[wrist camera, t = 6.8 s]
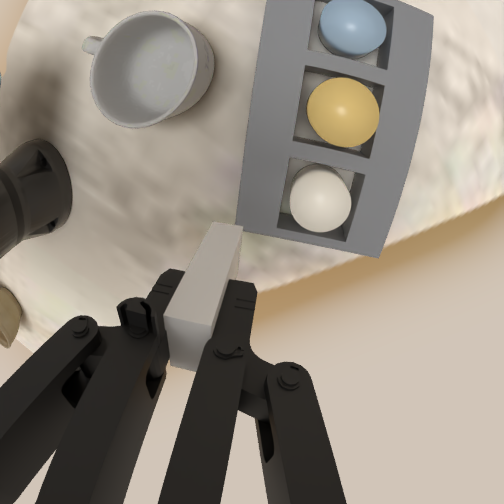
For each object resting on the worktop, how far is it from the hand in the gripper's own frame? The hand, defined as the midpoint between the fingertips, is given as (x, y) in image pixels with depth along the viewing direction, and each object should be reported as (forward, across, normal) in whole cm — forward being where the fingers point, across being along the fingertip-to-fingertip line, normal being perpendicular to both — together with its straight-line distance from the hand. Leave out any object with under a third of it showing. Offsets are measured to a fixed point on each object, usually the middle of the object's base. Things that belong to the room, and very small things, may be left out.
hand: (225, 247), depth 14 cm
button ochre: (+14, +6, +7) cm, 17 cm away
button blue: (+16, +7, +16) cm, 23 cm away
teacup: (+17, -11, +10) cm, 23 cm away
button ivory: (+16, +6, -1) cm, 17 cm away
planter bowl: (+19, -63, -40) cm, 77 cm away
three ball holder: (+16, +6, +7) cm, 19 cm away
